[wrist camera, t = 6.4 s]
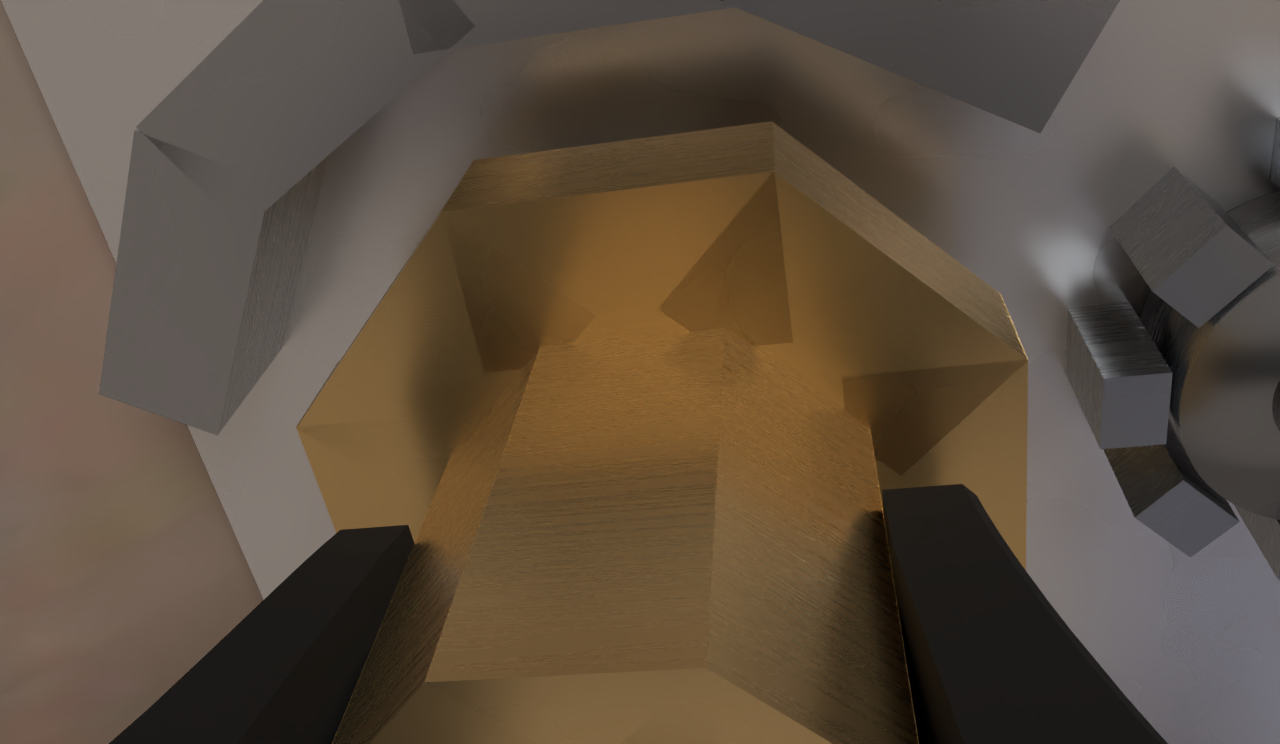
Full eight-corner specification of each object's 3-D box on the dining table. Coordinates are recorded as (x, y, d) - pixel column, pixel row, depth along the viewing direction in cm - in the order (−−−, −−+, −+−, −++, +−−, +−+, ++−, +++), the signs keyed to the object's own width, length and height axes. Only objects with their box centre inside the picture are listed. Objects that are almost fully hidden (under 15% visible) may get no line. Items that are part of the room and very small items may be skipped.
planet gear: (1001, 657, 12) (1131, 1161, 8) (451, 684, 13) (305, 1144, 9) (1000, 91, 9) (1211, 426, 5) (278, 185, 10) (-70, 529, 6)
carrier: (1401, 738, 15) (1583, 1031, 12) (382, 775, 18) (295, 1029, 14) (1773, -691, 8) (2522, -982, 5) (-58, -299, 10) (-454, -299, 7)
